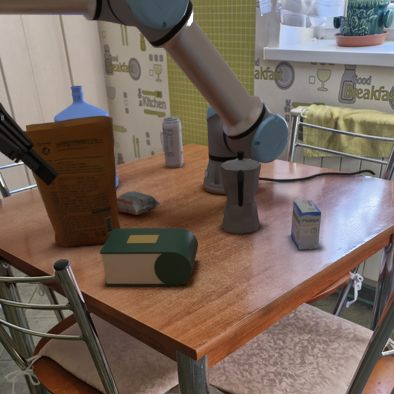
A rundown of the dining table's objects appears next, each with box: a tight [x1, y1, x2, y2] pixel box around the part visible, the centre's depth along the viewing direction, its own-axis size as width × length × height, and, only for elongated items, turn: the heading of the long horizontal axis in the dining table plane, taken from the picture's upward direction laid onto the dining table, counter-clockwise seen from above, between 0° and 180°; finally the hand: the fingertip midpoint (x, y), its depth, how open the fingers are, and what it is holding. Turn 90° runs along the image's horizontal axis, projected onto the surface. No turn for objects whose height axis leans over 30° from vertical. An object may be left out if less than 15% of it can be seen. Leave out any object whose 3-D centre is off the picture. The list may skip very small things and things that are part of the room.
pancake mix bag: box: [23, 116, 121, 248], centre depth 116 cm, size 7×19×28 cm, turn 96°
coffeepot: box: [220, 151, 262, 235], centre depth 121 cm, size 15×9×18 cm, turn 176°
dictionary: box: [99, 227, 199, 287], centre depth 107 cm, size 18×12×8 cm, turn 84°
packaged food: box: [117, 190, 161, 216], centre depth 138 cm, size 9×12×5 cm
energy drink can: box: [161, 115, 184, 169], centre depth 169 cm, size 6×6×15 cm
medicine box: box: [290, 199, 322, 251], centre depth 115 cm, size 8×4×9 cm, turn 5°
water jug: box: [53, 85, 119, 188], centre depth 150 cm, size 16×16×28 cm
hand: (53, 179), depth 100 cm, fingers closed
